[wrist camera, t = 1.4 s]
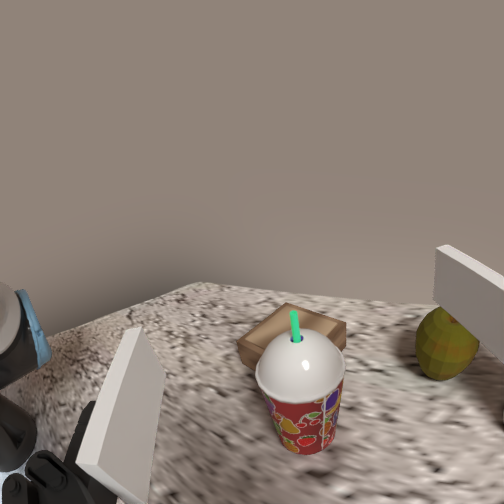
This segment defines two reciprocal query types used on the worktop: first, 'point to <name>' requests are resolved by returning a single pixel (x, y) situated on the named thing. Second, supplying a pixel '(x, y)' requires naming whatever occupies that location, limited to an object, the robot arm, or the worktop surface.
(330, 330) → the brown flat block
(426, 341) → the apple
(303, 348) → the smoothie
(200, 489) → the worktop surface
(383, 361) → the worktop surface
